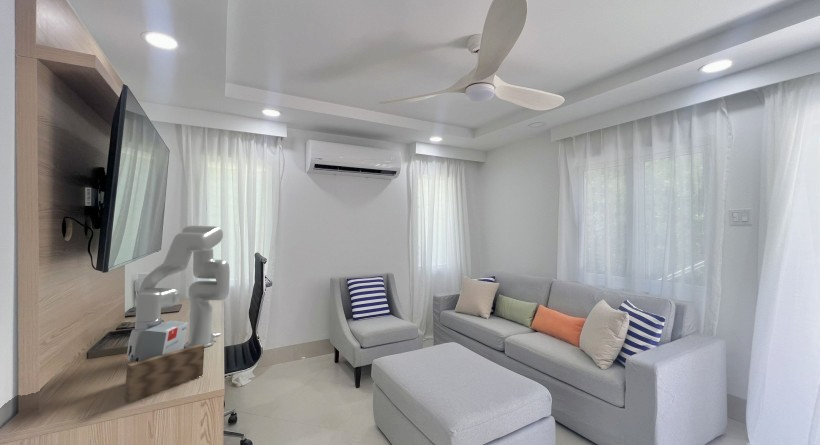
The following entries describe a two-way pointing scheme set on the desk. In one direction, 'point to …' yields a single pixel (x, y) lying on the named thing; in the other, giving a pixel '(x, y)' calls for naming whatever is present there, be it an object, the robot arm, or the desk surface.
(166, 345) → the hard drive box
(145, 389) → the walnut board
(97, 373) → the desk surface
